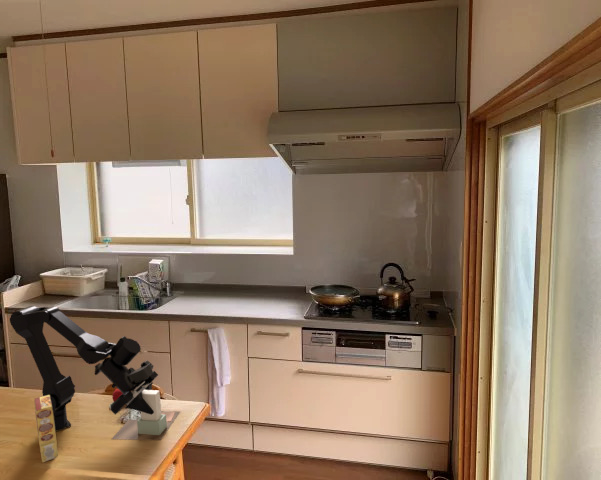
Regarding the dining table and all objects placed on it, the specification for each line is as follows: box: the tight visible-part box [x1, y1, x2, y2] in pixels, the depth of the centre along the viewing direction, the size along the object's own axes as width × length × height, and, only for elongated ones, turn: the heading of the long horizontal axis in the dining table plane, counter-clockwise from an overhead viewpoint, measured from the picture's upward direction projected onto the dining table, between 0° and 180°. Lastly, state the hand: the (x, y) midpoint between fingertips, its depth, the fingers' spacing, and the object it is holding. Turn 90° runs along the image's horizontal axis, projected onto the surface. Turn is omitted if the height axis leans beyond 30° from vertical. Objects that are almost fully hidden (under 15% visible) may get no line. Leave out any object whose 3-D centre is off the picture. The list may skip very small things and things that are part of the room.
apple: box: [108, 387, 123, 410], centre depth 154 cm, size 8×8×6 cm
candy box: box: [33, 395, 59, 463], centre depth 127 cm, size 9×4×15 cm, turn 33°
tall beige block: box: [141, 389, 162, 421], centre depth 135 cm, size 5×3×12 cm, turn 80°
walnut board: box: [111, 410, 181, 441], centre depth 139 cm, size 15×16×1 cm
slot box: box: [137, 414, 167, 435], centre depth 136 cm, size 7×5×4 cm, turn 80°
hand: (155, 411), depth 135 cm, fingers closed on tall beige block, 3 cm apart
